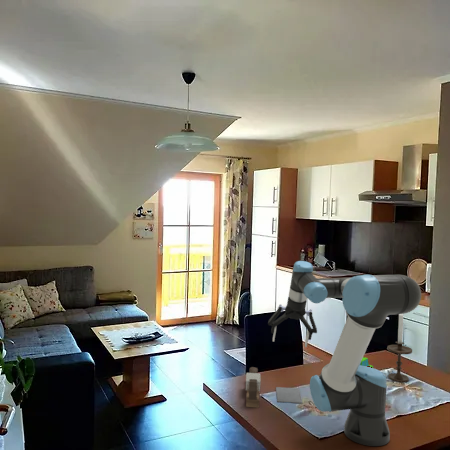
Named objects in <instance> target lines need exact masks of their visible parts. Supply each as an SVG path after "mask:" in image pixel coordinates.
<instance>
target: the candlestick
mask: <svg viewBox="0 0 450 450" xmlns="http://www.w3.org/2000/svg"><path fill="white" fill-rule="evenodd" d="M397 327H398V329H397V341H395V344H389V345H387V348H386V349H387V350H388V351H389V352H390V353H393V354H397V361H395V364H396V365H397V366H396V367H395V369H397V370H396V372H392V373H389V374H388V376H387V378H388V379H389V380H390V381H393V382H396V383H408V382H409V381H410V378H409V376H407V375H406V374H402V373H401V370H402V365H403V362H402V361H401V360H402V355H411V354H412V353H413V349H412V347H409V346H406V345H405V344H406V343H405V342H403V332H404V314H398V326H397Z"/></svg>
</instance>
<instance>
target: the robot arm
mask: <svg viewBox="0 0 450 450" xmlns="http://www.w3.org/2000/svg"><path fill="white" fill-rule="evenodd" d="M292 268H293V269H292V274H291V279H290V285H289V291H288V296H287V303H286V305H285V306H283V305H282V304H278V307H277V309H276V311H275V312H274V313H273V314H272V315H271V317H270V318H269V319H268V322H267V325H268V326H271V331H270V333H271V334H273V335H272V342H275V340H276V339H275V338H276V333H277V326H278V325H280V324H281V323H282V322H284V321H285V320H288V318H290V320H295V321H296V320H297V321H298V320H300V321H301V323H302V324H303V326H304V328H306V335H305V341H304V347H305V348H307V347H308V343H309V340H310V341H311V340H312V336H313V334H317V333H318V328H317V325H316V323H315V320H314V316H313V309H309V310H308V309H307V310H306V307H307V301H308V300H309V301H310V302H311V303H312V304H321V303H322V302H324V301H325V300H326V299H334V298H336V299H337V298H338V299H339V298H340V299H341V298H342V300H341V301H342V306H343V308H344V310H345V313H346V316H347V317H346V321H345V323H344V326H343V328H342V332H341V334H340V336H339V337H338V338H339V339H338V340H337V343H336V346H335V349H334V351H333V354H332V357H331V359H330V360H329V361H330V362H329V363H327V364H326V365H324V366H323V368H322V369H321V372H320V374H315V375H312V376H311V377H310V380H309V390H310V395H311V398H312V402H313V404H314V406H315V407H316V409H317V410H319V411H320V412H322V413H324V412H325V413H327V412H329V413H331V412H337V411H338V412H339V411H345V410H349V412H348V414H347V417H346V420H345V422H344V426H343V432H344V434H345V436H346V437H347V438H348V439H350V440H351V441H353V442H354V443H357V444H360V445H363V446H369V447H380V446H381V447H382V446H385V445H387V444H388V443H389V442H390V437H391V434H390V432H391V431H390V428H389V424H388V422H387V418H386V403H387V401H386V400H387V388H388V386H387V385H388V384H387V377H386V375H385V373H384V372H383V371H381V370H379V369H376V368H374V367H373V368H371V367H367V366H361V365H360V363H361V361H362V358H363V357H364V356H365V354H366V351H367V350H368V349H367V348H368V346H369V345H370V342H371V340H372V338H373V335H374V333H375V331H376V329H379V328H382V326H383V325H384V323H385V321H386V319H387V317H388V316H390V315H391V316H392V315H395V316H396V315H399V314H403V315H404V314H407V313H410V312H412V311H414V310H416V308H417V307H418V306H419V304H420V303H421V301H422V291H421V288H420V285H419V284H418V282H417V281H416V280H414V279H413V278H411V277H410V276H407V275H404V274H377V275H375V274H374V275H372V274H366V273H365V274H362V275H354V276H352V277H332V278H331V277H325V278H324V277H322V278H320V277H316V276H315V275H314V274H313V272H314V270H313V269H314V266H313V264H312V263H311V262H308V261H306V260H297V261H295V262H294V264H293V267H292ZM284 311H285V312H284ZM281 313H283V314H282V315H281V316H279V315H280V314H281ZM305 315H306V316H307V317H308V319H309V322H310V323H309V322H308V321H307V320H306V318H305ZM310 324H311V325H310Z"/></svg>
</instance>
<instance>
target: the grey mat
mask: <svg viewBox="0 0 450 450" xmlns="http://www.w3.org/2000/svg"><path fill="white" fill-rule="evenodd" d="M275 392H276V401H277V403H284V402H291V403H290V404H300V403H302V404H303V398H302V395H301V390H300V388H297V387H281V386H276V387H275Z"/></svg>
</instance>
